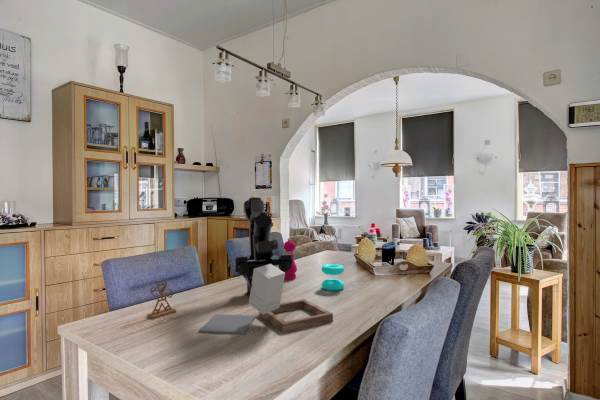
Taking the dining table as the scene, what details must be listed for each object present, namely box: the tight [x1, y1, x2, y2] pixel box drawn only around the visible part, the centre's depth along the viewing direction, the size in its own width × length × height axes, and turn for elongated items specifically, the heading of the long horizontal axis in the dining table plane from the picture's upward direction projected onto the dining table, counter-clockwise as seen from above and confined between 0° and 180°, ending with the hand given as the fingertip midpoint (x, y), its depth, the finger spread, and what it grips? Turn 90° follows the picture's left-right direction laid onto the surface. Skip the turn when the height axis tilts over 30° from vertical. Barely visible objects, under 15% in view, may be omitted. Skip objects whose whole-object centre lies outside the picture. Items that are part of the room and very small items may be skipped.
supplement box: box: [248, 264, 285, 314], centre depth 108 cm, size 7×7×13 cm
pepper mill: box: [283, 237, 298, 280], centre depth 169 cm, size 7×7×20 cm
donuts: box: [321, 263, 345, 291], centre depth 151 cm, size 10×10×10 cm
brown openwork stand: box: [146, 279, 177, 320], centre depth 118 cm, size 9×4×12 cm, turn 143°
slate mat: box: [198, 313, 257, 335], centre depth 108 cm, size 14×14×1 cm
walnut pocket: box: [258, 298, 334, 334], centre depth 114 cm, size 18×18×2 cm
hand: (265, 285), depth 108 cm, fingers closed on supplement box, 9 cm apart
